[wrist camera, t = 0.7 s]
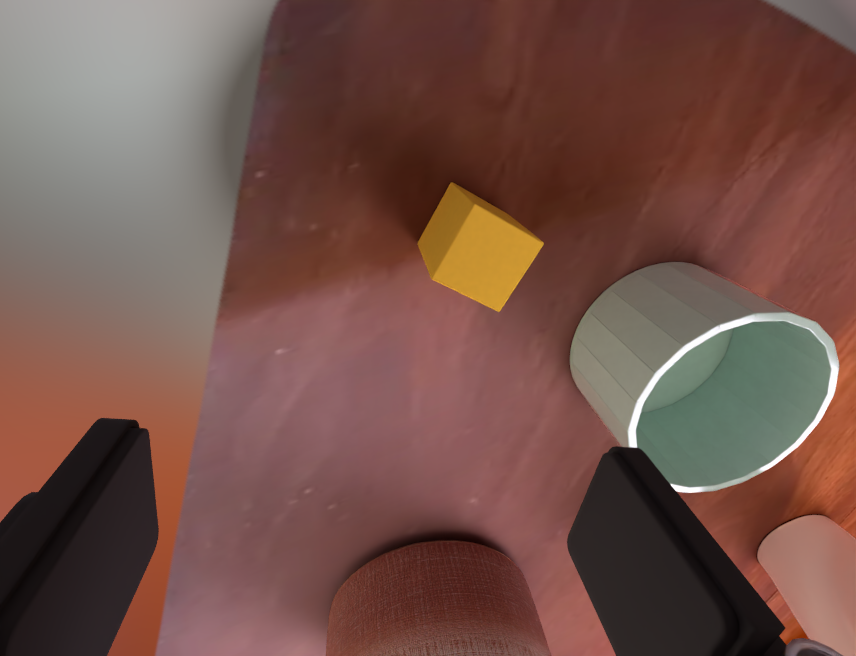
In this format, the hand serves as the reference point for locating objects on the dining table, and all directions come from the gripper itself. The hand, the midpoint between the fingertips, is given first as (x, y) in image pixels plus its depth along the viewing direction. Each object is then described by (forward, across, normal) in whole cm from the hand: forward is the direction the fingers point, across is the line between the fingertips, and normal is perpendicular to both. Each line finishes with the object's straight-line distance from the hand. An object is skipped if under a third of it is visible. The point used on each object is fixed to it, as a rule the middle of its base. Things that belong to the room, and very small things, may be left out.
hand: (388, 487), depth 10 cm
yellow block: (+19, -5, -1) cm, 20 cm away
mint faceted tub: (+19, -20, +5) cm, 28 cm away
